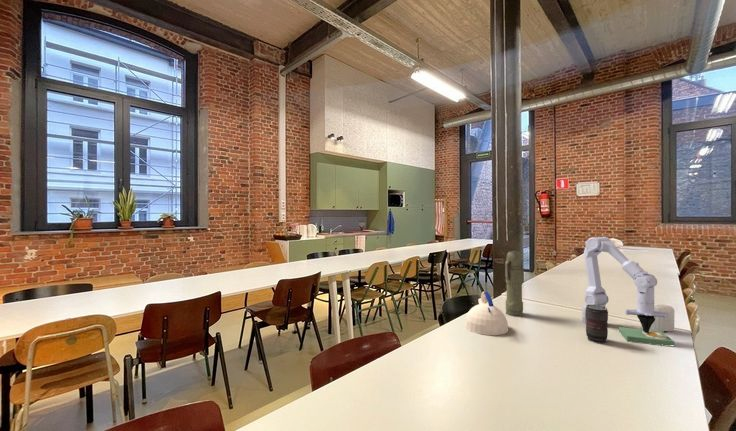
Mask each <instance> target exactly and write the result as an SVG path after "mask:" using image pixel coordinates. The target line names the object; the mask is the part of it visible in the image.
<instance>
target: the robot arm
mask: <svg viewBox="0 0 736 431" xmlns="http://www.w3.org/2000/svg"><path fill="white" fill-rule="evenodd" d="M584 243H585V247H584V250H583V257H584V265H585V270H586V271H585V272H586V278H587V288H586V290H584V291H585V292H584V293H585V295H584V302H585V304H583V305H582V307H581V308H582V310H581V311H582V321H583V323H584V325H586V307H587V305H589V304H593V305H600V306H604V307H606V306H607V304H608V303H609V296H608V294H607V293H606V289H605V288H603V286H602V282H601V274H600V267H599V261H598V255H600V254H601V253H602V252H604V253H607V254H609V255H610V256H611V257H613V259H615V260H616V261H617V262H619V263H620V264H621V265H622V270H623V271H624V272H626V274H628V276H629V277H630V278H632V279H633V282H634V285H635V286H636V290H637V294H636V295H637V297H636V298H637V309H624V314H625V315H626V316H627V315H628V316H629V315H631V316H636V317H637V318H638V320H639V322H640V325H641V327H642V328H641V329H642V330H643V332H644V333H649V330H651V329H650V327H651V325H652V324H653V322H654V321H655V318H654V317H661V318H667V319H668V314H667V313H662V312H655V311H654V306H655V287H656V286H657V285H658V279H657V278H656V276H655V275H654V274H651V273H649V272H648V271H646V270H644V269H643V268H642V267H641V266H640V263H638V261H634V260H629V258H628V257H627V256H626V255H625V254H624V253H623V252H622V251H621V250H620V249H619V248H618V247H617V246H616V245H615V243H614V241H613V240H611V239H610V238H609V237H607V236H598V237H597V236H596V237H590V238H588V239H587V240H585V242H584ZM607 327H609V325H608V324H607Z"/></svg>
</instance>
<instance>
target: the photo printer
mask: <svg viewBox="0 0 736 431" xmlns="http://www.w3.org/2000/svg"><path fill="white" fill-rule="evenodd" d="M654 311H655V312H662V313H667V314H668V319H667V318H661V317H654V318H655V321H654V322H653V324H652V325H651V327H650V330H651V331H660V332H663V333H665V332H664V331H668V332H674V331H675V309H674V307H673V306H672V305H671V306H670V305H667V304H661V303H660V304H656V305H655V304H654ZM673 330H674V331H673Z"/></svg>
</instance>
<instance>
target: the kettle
mask: <svg viewBox="0 0 736 431" xmlns="http://www.w3.org/2000/svg"><path fill="white" fill-rule="evenodd" d="M477 301H478V304H476V305H474V306H472V307H471V308H470V309H469V311H468V312H467V314H466V315H465V324H464V327H465V328H466V329H467V330H469V331H470V332H472V333H475V334H479V335H483V336H500V335H501V336H502V335H505V334H507V333H508V332H509V325H508V324H509V323H508V320H507V317H506V315H505V314H504V312H503V311H502V310H501V309H499V308H498V307H497V306H495V305H494V302H493V299H492V297H491V294H490V293H489V292H488V291H482V293H481V295H480V298H478V299H477Z"/></svg>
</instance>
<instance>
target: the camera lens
mask: <svg viewBox="0 0 736 431" xmlns="http://www.w3.org/2000/svg"><path fill="white" fill-rule="evenodd" d="M586 305H587V304H586ZM608 321H609V310H608V308H607V307H606V306H605V307H604V306H600V305H593V304H589V305H587V307H586V324H585V334H586V336H587V340H588V341H589V342H591V343H596V344H605V343H606V342H607V340H608V336H609V335H608V334H609V332H608V330H609V329H608V327H609V326H608V327H607V325H608Z"/></svg>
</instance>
